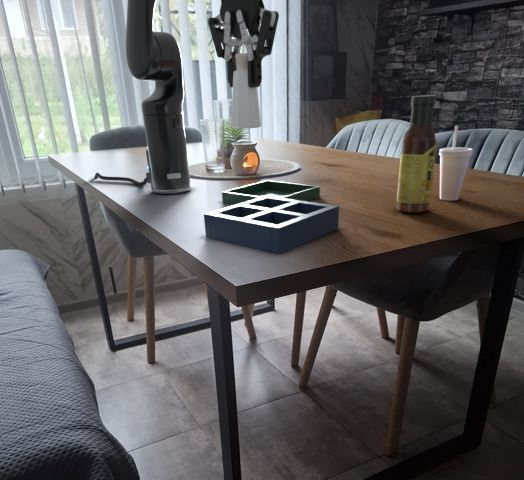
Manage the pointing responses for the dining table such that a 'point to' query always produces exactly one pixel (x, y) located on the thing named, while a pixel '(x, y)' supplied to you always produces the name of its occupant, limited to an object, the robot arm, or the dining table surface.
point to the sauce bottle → (417, 158)
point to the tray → (271, 192)
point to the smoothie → (453, 169)
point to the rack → (272, 223)
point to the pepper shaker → (244, 97)
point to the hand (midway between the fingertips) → (244, 86)
